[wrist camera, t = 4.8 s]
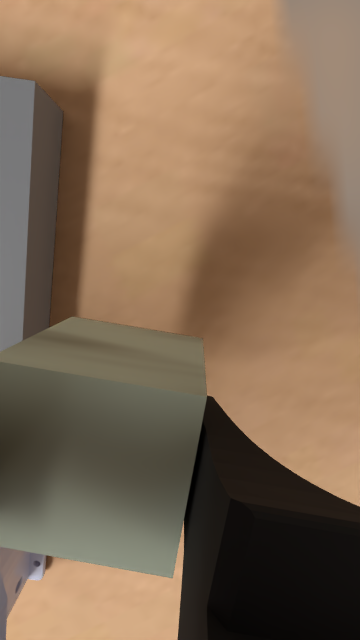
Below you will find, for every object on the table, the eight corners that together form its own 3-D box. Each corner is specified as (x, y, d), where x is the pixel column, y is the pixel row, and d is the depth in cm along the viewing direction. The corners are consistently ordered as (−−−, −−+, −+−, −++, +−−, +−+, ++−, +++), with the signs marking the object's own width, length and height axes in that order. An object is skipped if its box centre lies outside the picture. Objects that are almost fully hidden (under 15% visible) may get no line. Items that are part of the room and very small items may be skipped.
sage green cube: (181, 455, 13) (172, 578, 8) (61, 434, 13) (-21, 543, 8) (202, 338, 12) (206, 397, 7) (72, 316, 12) (-15, 359, 7)
